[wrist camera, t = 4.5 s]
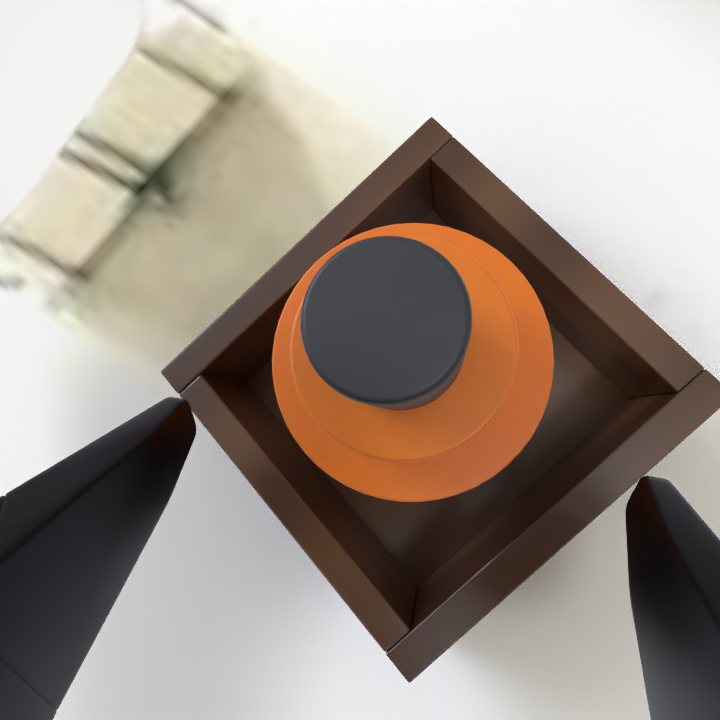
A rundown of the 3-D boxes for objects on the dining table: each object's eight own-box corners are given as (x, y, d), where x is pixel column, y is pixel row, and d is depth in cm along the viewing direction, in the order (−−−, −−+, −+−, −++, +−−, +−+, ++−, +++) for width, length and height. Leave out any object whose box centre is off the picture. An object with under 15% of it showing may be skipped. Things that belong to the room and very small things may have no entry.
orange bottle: (527, 394, 19) (742, 324, 5) (421, 490, 19) (366, 660, 5) (429, 294, 20) (397, 20, 6) (330, 386, 20) (92, 311, 6)
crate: (662, 401, 19) (735, 395, 14) (417, 619, 19) (408, 683, 14) (434, 184, 21) (431, 115, 16) (221, 382, 21) (159, 371, 17)
